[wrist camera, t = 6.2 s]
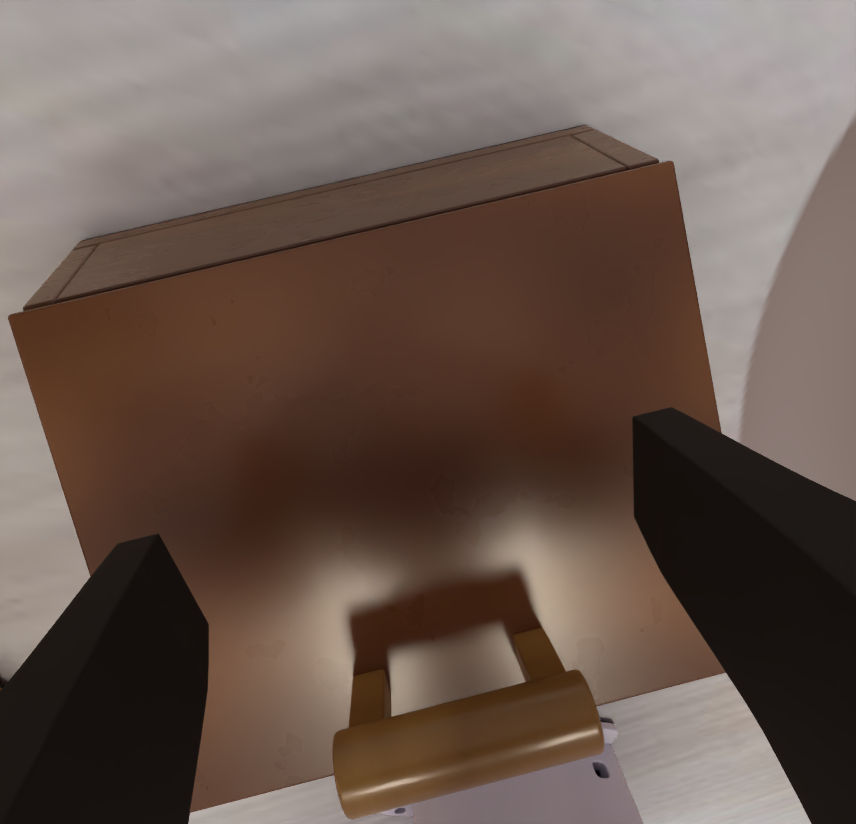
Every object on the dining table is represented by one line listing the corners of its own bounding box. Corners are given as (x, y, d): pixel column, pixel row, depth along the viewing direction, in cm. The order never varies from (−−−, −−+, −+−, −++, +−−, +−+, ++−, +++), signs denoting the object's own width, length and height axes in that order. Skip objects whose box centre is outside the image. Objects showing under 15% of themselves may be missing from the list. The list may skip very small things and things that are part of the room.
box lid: (749, 650, 16) (874, 761, 12) (175, 800, 15) (102, 968, 11) (661, 166, 14) (771, 103, 10) (21, 315, 14) (-127, 311, 10)
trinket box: (602, 441, 23) (657, 523, 20) (220, 535, 23) (205, 638, 19) (587, 123, 18) (660, 159, 14) (78, 240, 17) (19, 308, 14)
